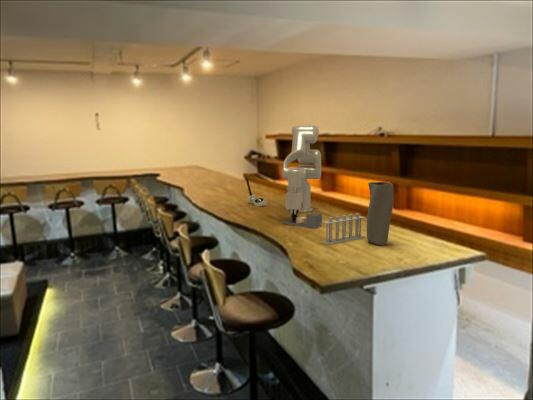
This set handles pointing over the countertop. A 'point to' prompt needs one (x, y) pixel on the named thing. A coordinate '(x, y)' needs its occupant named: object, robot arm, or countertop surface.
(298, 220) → the beige rectangular block
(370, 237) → the vase
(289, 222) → the guide channel
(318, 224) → the end cap
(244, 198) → the countertop surface
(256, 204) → the butterfly valve
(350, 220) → the test tube rack
